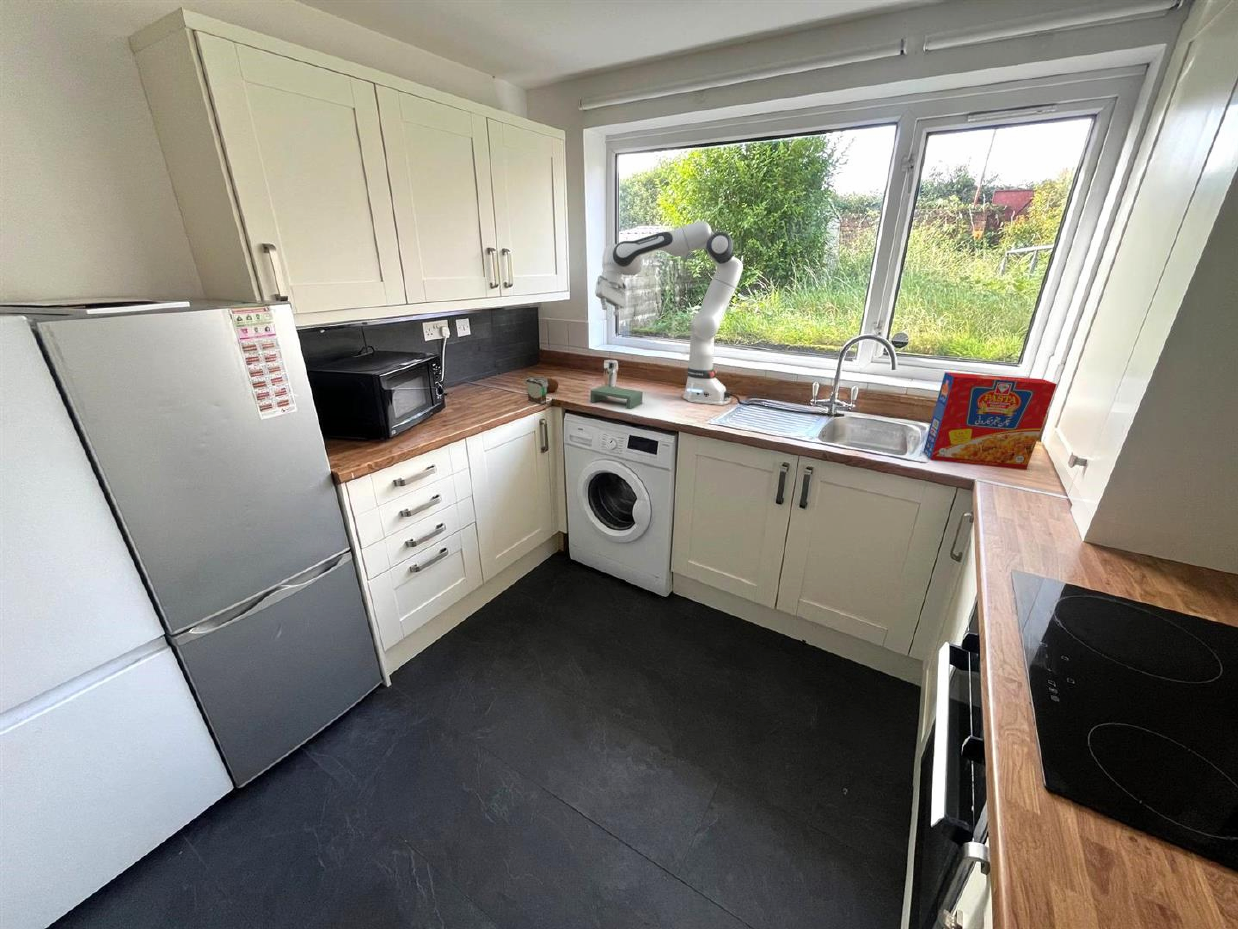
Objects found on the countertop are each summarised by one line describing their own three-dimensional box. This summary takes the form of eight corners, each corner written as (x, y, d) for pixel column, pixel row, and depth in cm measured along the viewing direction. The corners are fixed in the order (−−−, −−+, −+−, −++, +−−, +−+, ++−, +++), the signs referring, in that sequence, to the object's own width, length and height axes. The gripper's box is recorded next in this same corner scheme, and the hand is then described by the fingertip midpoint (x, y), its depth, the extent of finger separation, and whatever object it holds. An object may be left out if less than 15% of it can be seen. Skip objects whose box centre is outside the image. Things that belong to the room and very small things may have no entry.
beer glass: (607, 389, 247) (608, 359, 242) (619, 391, 244) (620, 360, 239) (600, 392, 242) (600, 361, 236) (612, 394, 238) (613, 362, 233)
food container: (554, 403, 218) (554, 381, 214) (543, 405, 214) (542, 382, 210) (537, 398, 226) (536, 376, 222) (526, 400, 222) (525, 378, 218)
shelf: (642, 403, 224) (642, 391, 222) (629, 409, 214) (630, 396, 212) (603, 397, 233) (604, 385, 231) (590, 402, 223) (590, 390, 221)
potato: (562, 390, 242) (562, 377, 240) (548, 394, 233) (548, 381, 231) (552, 388, 245) (552, 375, 243) (538, 392, 236) (537, 379, 233)
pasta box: (930, 459, 166) (954, 376, 156) (923, 452, 174) (944, 372, 163) (1026, 469, 160) (1057, 384, 150) (1014, 461, 168) (1042, 379, 158)
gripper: (604, 272, 215) (603, 304, 215) (628, 288, 232) (627, 317, 232) (592, 275, 218) (591, 306, 218) (617, 290, 236) (616, 319, 235)
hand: (610, 312), depth 225 cm, fingers open, 8 cm apart
